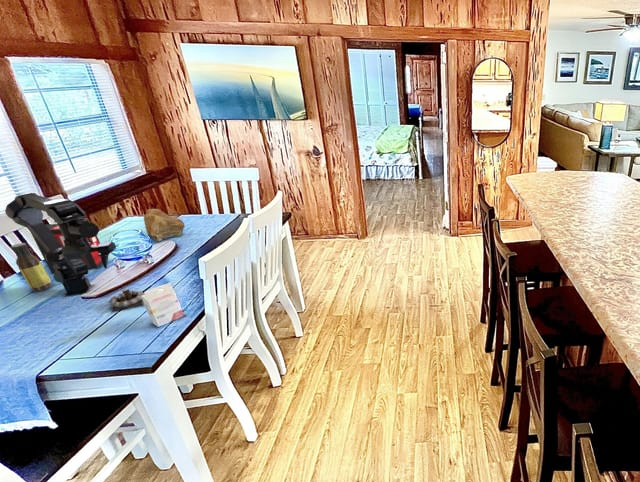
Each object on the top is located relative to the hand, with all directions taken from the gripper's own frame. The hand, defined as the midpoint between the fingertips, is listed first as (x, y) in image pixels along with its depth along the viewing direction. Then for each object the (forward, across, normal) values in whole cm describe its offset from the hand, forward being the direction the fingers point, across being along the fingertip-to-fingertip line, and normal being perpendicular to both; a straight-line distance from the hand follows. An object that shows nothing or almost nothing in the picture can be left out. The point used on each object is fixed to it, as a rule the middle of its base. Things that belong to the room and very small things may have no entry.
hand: (90, 270), depth 151 cm
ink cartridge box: (+12, +26, -30) cm, 42 cm away
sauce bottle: (+12, -24, +19) cm, 33 cm away
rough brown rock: (+12, +12, +63) cm, 65 cm away
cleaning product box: (+12, -17, +37) cm, 43 cm away
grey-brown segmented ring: (+10, +10, -10) cm, 18 cm away
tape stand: (+12, +11, -10) cm, 19 cm away
